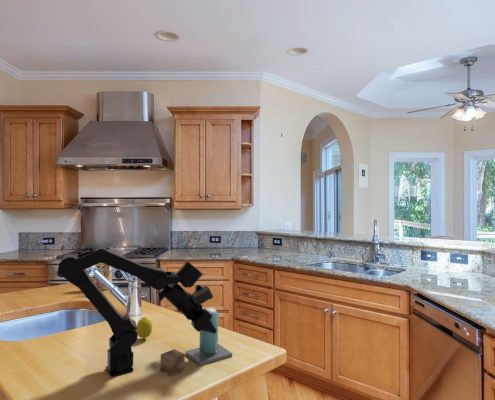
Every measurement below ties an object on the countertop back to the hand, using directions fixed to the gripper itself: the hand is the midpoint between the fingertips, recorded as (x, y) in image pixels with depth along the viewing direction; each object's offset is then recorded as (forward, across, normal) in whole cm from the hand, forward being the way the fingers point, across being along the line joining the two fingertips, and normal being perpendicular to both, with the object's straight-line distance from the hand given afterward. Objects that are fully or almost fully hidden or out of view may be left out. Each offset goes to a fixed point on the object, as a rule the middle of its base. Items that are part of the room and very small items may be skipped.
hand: (212, 328), depth 118 cm
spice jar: (+4, 0, +6) cm, 7 cm away
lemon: (-7, +22, +20) cm, 30 cm away
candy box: (-16, +105, +29) cm, 110 cm away
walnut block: (-4, -6, +16) cm, 18 cm away
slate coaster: (+5, 0, +7) cm, 9 cm away
